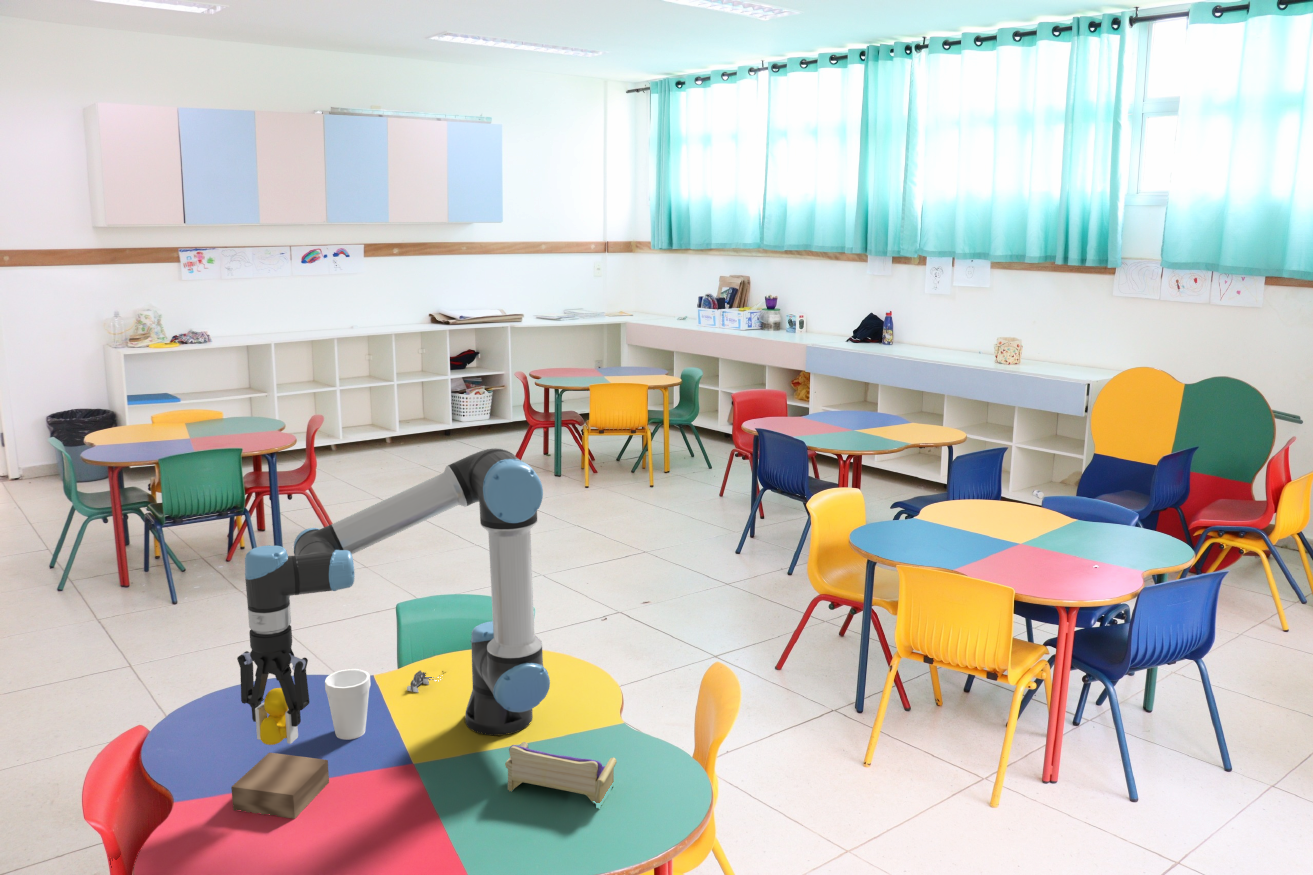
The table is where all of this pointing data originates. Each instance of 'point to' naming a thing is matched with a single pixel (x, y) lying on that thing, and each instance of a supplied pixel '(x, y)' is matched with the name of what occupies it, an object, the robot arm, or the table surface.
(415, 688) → the grey toy animal
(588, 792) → the toy sofa
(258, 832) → the table surface
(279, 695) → the duckling
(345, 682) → the foam cup
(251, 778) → the walnut base
